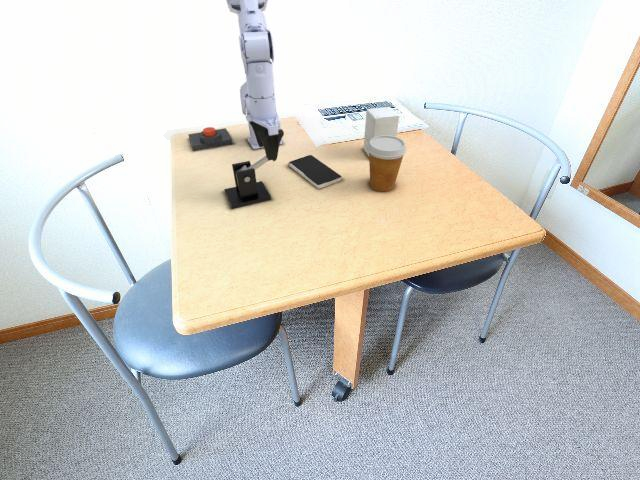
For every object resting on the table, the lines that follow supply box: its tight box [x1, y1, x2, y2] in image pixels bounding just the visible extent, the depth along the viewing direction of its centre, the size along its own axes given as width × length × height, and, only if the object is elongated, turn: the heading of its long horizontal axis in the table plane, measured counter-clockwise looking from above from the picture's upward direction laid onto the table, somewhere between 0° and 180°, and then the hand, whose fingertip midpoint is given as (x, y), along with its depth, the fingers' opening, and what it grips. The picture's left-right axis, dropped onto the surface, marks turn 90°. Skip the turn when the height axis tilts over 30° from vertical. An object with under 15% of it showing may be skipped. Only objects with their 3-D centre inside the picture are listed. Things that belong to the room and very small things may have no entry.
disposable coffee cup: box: [367, 135, 407, 192], centre depth 93 cm, size 10×10×12 cm
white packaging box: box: [363, 106, 400, 157], centre depth 106 cm, size 7×7×13 cm
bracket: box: [223, 160, 272, 210], centre depth 91 cm, size 10×8×8 cm
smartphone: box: [288, 154, 342, 189], centre depth 102 cm, size 8×1×15 cm
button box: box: [187, 127, 233, 152], centre depth 115 cm, size 12×10×4 cm
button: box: [202, 126, 216, 137], centre depth 113 cm, size 4×4×2 cm
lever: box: [236, 155, 278, 172], centre depth 89 cm, size 10×4×2 cm, turn 113°
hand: (267, 152), depth 88 cm, fingers open, 7 cm apart
